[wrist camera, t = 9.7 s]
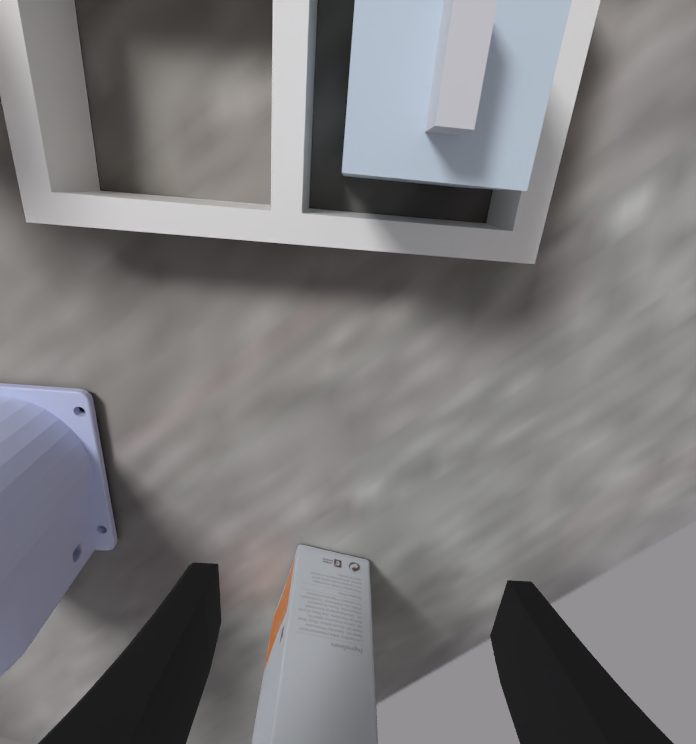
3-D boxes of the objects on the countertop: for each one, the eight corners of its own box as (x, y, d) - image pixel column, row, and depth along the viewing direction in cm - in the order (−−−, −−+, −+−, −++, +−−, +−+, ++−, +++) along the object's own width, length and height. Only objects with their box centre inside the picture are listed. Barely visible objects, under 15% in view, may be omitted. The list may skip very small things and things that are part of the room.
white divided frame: (505, 251, 18) (534, 264, 15) (77, 215, 17) (26, 222, 14) (573, -59, 14) (629, -120, 11) (24, -119, 13) (-61, -199, 10)
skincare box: (296, 540, 24) (253, 847, 13) (370, 557, 24) (390, 866, 13) (271, 613, 26) (216, 927, 15) (339, 628, 27) (333, 941, 16)
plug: (457, 187, 17) (548, 192, 9) (343, 176, 17) (340, 171, 9) (482, 49, 15) (618, -85, 7) (354, 35, 15) (362, -118, 7)
